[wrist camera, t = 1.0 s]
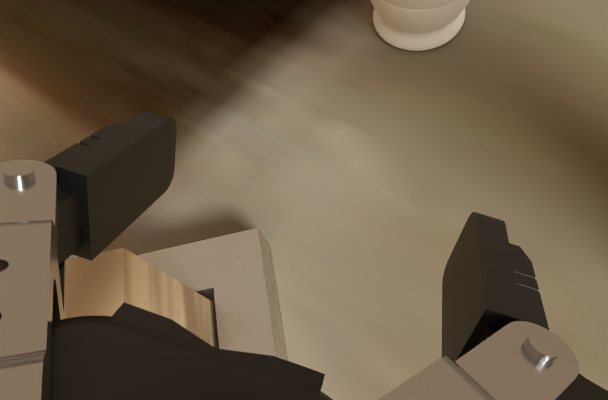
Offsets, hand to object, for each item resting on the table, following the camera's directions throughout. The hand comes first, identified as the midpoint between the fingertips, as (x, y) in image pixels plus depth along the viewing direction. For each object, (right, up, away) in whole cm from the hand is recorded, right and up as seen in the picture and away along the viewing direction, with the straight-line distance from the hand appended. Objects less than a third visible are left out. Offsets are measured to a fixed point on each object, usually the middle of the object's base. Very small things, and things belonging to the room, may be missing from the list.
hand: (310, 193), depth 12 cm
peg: (-8, -10, +22) cm, 25 cm away
